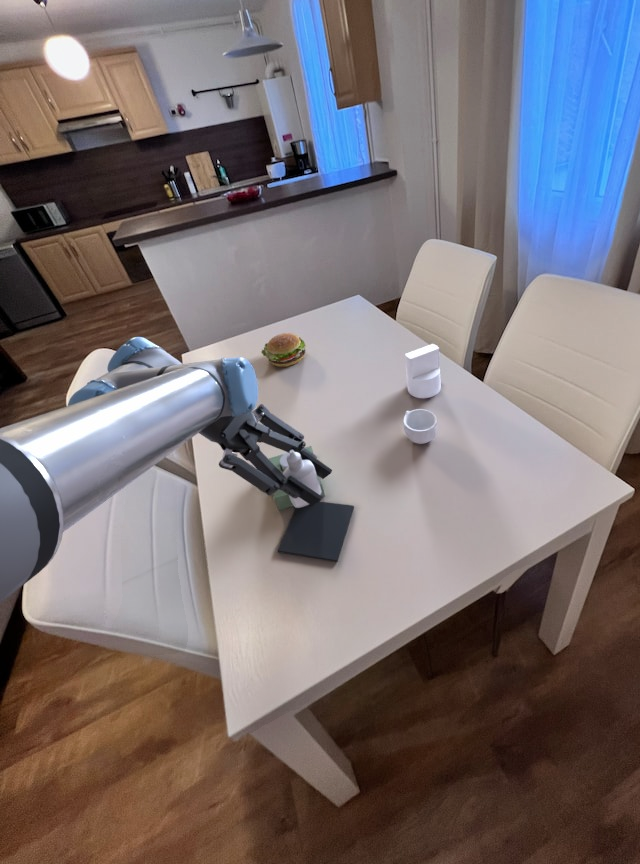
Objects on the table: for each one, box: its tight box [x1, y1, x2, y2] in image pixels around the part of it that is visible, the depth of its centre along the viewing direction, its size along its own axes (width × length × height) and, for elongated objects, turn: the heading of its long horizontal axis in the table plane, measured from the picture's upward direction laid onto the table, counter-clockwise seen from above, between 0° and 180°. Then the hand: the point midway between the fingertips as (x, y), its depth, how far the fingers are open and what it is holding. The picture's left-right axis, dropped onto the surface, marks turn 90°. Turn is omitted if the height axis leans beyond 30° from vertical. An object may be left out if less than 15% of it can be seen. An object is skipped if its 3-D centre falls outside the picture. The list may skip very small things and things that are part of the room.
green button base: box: [268, 445, 326, 511], centre depth 88 cm, size 12×10×6 cm
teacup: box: [402, 408, 438, 445], centre depth 95 cm, size 10×8×5 cm
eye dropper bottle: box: [283, 450, 322, 508], centre depth 70 cm, size 4×6×12 cm
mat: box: [276, 500, 355, 563], centre depth 79 cm, size 12×12×1 cm
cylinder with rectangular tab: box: [404, 343, 442, 399], centre depth 107 cm, size 9×9×12 cm
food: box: [261, 332, 307, 368], centre depth 132 cm, size 14×14×8 cm
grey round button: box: [280, 452, 290, 471], centre depth 86 cm, size 4×4×2 cm
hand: (322, 487), depth 70 cm, fingers closed on eye dropper bottle, 5 cm apart
